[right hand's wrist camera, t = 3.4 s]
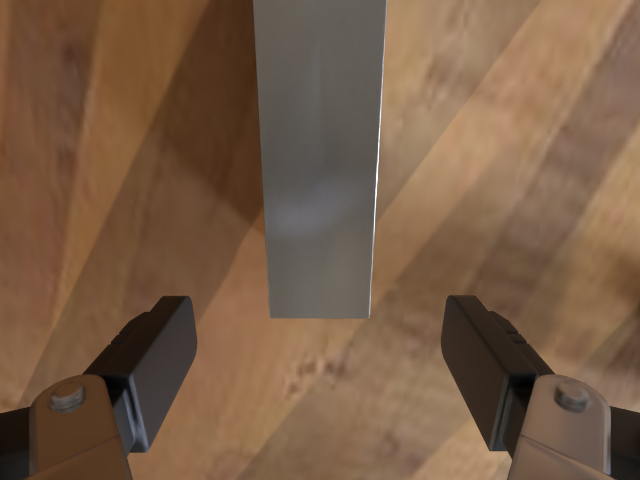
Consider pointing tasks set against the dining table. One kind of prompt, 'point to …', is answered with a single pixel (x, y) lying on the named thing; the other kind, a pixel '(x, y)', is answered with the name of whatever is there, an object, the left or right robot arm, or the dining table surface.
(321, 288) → the bar
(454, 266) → the dining table surface
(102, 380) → the right robot arm
